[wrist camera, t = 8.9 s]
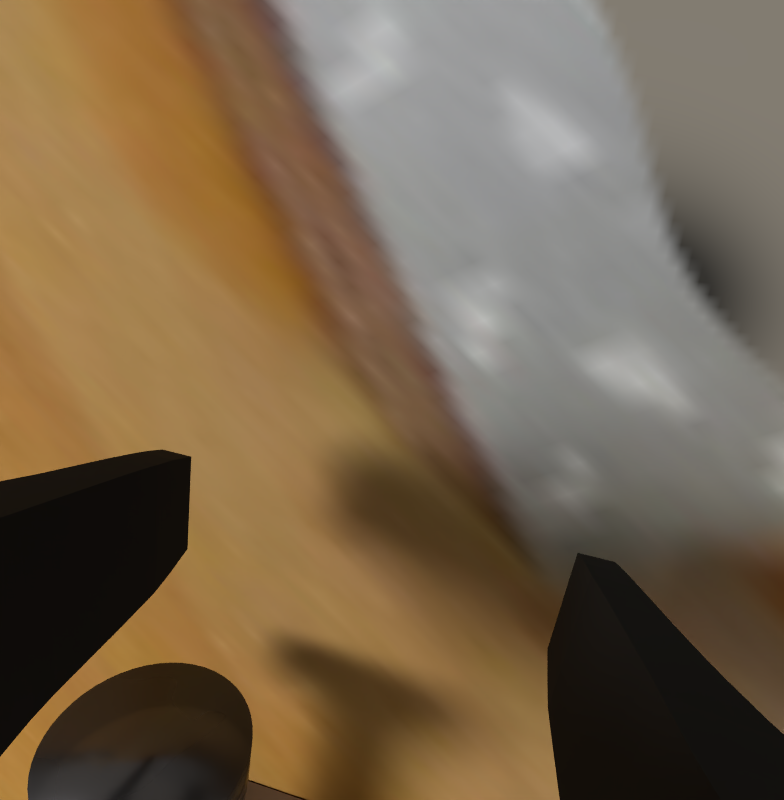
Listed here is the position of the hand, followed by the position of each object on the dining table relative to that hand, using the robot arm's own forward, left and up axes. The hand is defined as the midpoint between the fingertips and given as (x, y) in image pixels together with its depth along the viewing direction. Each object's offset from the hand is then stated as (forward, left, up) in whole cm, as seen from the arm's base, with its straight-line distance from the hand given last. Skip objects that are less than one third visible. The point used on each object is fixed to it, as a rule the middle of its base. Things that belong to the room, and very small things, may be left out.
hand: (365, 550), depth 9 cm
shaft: (+3, +11, -1) cm, 12 cm away
